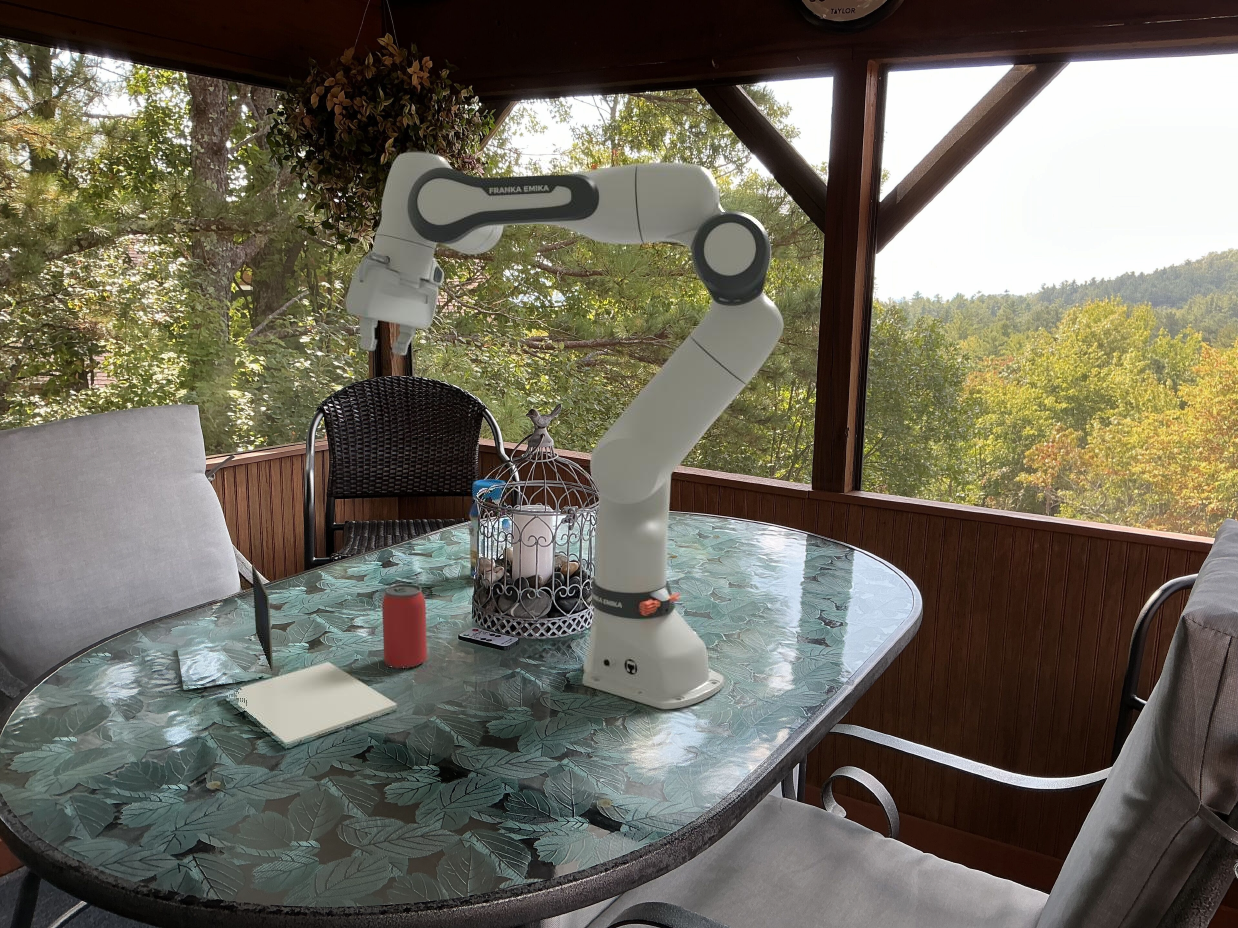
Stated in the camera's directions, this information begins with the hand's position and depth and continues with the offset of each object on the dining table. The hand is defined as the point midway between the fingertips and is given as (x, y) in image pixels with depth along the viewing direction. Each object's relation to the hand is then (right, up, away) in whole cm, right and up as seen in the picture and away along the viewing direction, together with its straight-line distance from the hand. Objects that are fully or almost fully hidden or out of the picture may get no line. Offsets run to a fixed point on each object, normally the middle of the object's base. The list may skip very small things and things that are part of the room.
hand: (383, 352), depth 136 cm
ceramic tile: (-8, -51, -10) cm, 53 cm away
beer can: (+2, -49, +6) cm, 49 cm away
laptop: (-26, -49, +5) cm, 55 cm away
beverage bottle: (+9, -41, +49) cm, 64 cm away
